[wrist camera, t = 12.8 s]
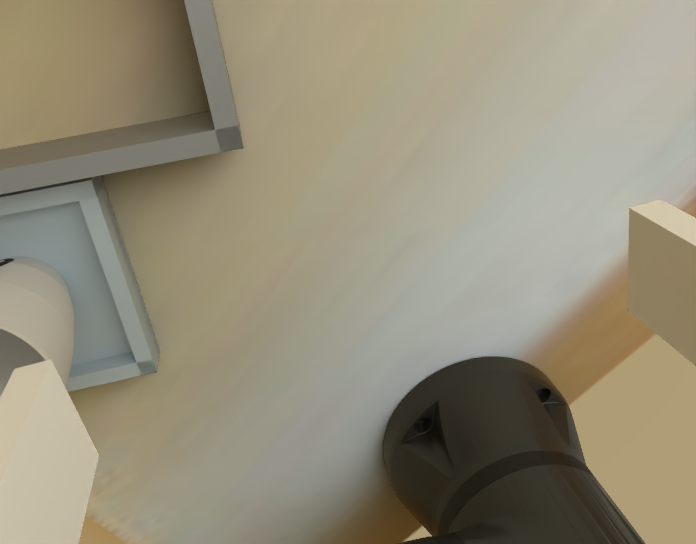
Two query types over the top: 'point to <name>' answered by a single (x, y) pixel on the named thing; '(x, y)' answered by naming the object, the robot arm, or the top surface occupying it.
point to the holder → (138, 129)
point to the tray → (85, 275)
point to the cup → (34, 317)
